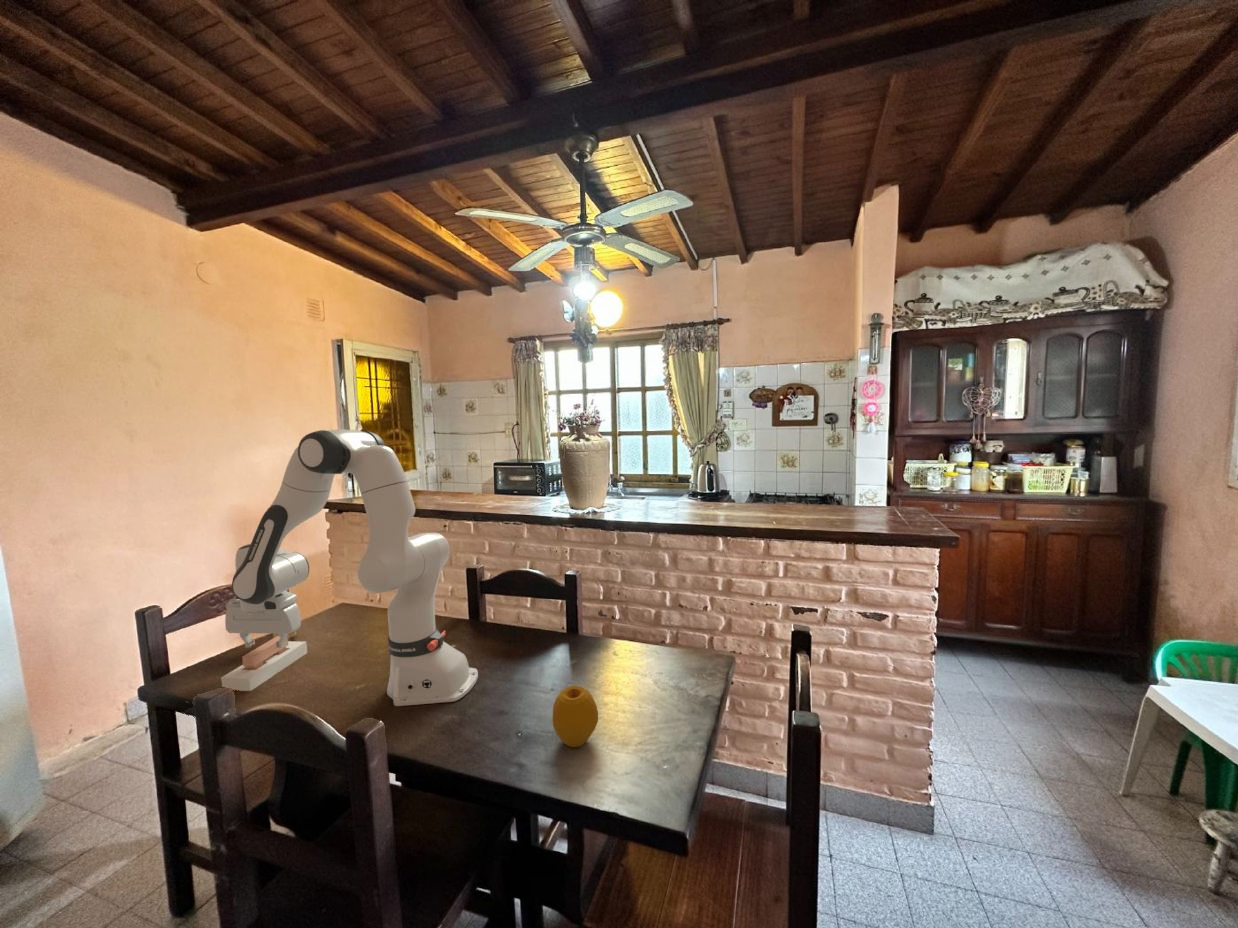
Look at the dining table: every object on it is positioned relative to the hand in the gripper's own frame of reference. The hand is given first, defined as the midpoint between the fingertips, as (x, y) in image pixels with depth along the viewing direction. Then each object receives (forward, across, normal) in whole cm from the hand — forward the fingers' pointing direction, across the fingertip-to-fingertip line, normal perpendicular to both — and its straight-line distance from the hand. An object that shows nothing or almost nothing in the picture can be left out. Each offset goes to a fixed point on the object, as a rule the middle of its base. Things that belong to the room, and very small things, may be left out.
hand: (265, 646), depth 134 cm
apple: (+8, +93, -24) cm, 96 cm away
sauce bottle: (+7, -9, +17) cm, 21 cm away
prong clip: (+7, 0, 0) cm, 7 cm away
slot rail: (+7, 0, 0) cm, 7 cm away
